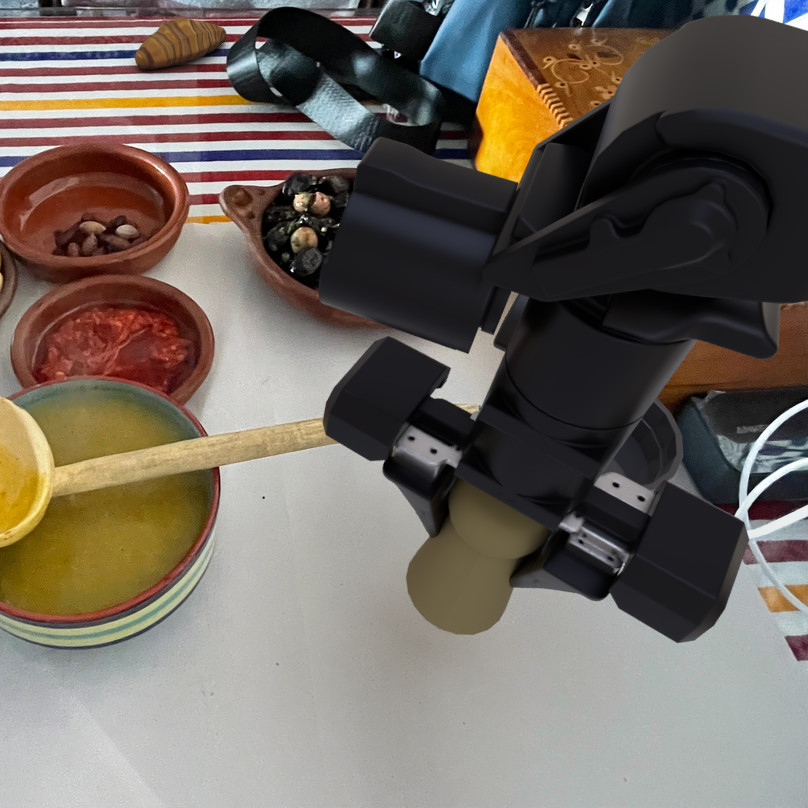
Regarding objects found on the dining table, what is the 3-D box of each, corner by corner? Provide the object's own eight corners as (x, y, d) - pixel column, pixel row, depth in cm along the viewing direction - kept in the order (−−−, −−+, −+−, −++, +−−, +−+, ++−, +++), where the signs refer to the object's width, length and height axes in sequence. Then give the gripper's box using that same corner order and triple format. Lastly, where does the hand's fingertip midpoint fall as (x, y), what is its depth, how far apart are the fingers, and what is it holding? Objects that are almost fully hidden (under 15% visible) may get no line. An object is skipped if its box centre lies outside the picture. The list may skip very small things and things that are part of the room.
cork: (446, 522, 48) (496, 416, 39) (527, 587, 45) (600, 489, 37) (385, 584, 45) (424, 485, 36) (468, 657, 42) (532, 569, 34)
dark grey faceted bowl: (675, 447, 63) (702, 414, 59) (625, 553, 56) (652, 523, 53) (540, 378, 67) (558, 343, 63) (479, 470, 60) (495, 436, 57)
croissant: (153, 84, 93) (150, 43, 89) (123, 60, 96) (119, 20, 92) (240, 54, 99) (241, 14, 95) (210, 32, 102) (209, -7, 98)
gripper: (868, 360, 31) (684, 543, 43) (458, 183, 37) (399, 387, 49) (812, 560, 25) (617, 705, 37) (335, 310, 31) (303, 505, 43)
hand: (474, 555), depth 42 cm, fingers closed on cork, 4 cm apart
